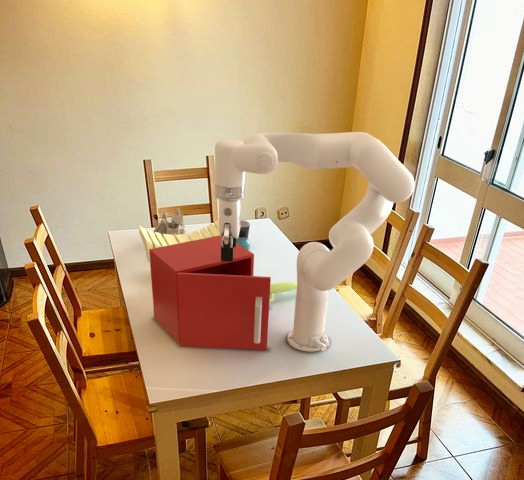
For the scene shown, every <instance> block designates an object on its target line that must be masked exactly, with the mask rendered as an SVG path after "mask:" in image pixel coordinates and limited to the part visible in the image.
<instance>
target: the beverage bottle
mask: <svg viewBox="0 0 524 480" xmlns="http://www.w3.org/2000/svg"><path fill="white" fill-rule="evenodd" d="M246 236H247V230H246V229H243V228H240V232H239V237H238V238H237V239H236V243H238V244H239V245H241V246H242V247H244V248H245V249H247V250H249V251H250V244H251V242H250V240H249V238H248V239H247V238H245V237H246Z"/></svg>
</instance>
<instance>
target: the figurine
mask: <svg viewBox="0 0 524 480" xmlns="http://www.w3.org/2000/svg"><path fill="white" fill-rule="evenodd" d="M295 289H296V290H297V281H279V282H271V283H270V300H269V303H270V302H273V301H274V300H275V294H278V295H280V296H284V294H281V293H285V292H289V291H293V290H295Z"/></svg>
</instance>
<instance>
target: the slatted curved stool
mask: <svg viewBox="0 0 524 480" xmlns="http://www.w3.org/2000/svg"><path fill="white" fill-rule="evenodd" d="M138 231H139V236H140V238H141V240H142V242H143V246H144V251H145V258H146V260H147V262H148V263H150V253H149V249H153V248H158V247H163V246H169V245H174V244H178V243H184V242H189V241H194V240H199V239H204V238H209V237H214V236H219V235H220V230H219V218H218V219H216V220H215V221H214V222H213V223H209V224H208V225H206V227H202V228H200V229H199V231H198V230H194V231H191V232H188V233H186V234H179V235H175V237H176V239H177V240H176V239H175V237H174V236H173V235H170V234H163V237H162V235H161V234H160V233H158V232H155V233H154V230H150V229H145V227H142V226H140V225H139V226H138ZM177 241H178V242H177Z"/></svg>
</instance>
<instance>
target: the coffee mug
mask: <svg viewBox="0 0 524 480" xmlns="http://www.w3.org/2000/svg"><path fill="white" fill-rule="evenodd" d="M250 225H251V222H249V221H247V220H243V219H240V228H243V229H246V230H247V236H246V237H245V238H247V239H248V240H249V235H250Z"/></svg>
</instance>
